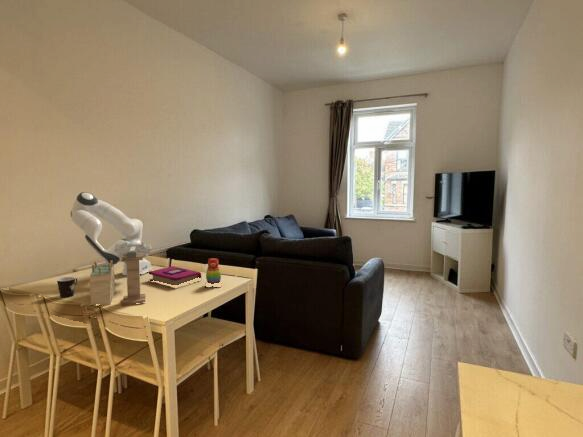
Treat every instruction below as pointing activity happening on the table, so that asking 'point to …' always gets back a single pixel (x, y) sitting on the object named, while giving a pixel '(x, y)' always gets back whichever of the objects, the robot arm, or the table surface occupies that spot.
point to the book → (174, 275)
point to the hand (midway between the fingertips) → (134, 243)
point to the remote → (132, 251)
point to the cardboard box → (102, 284)
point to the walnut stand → (133, 280)
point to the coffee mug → (66, 286)
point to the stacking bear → (213, 271)
